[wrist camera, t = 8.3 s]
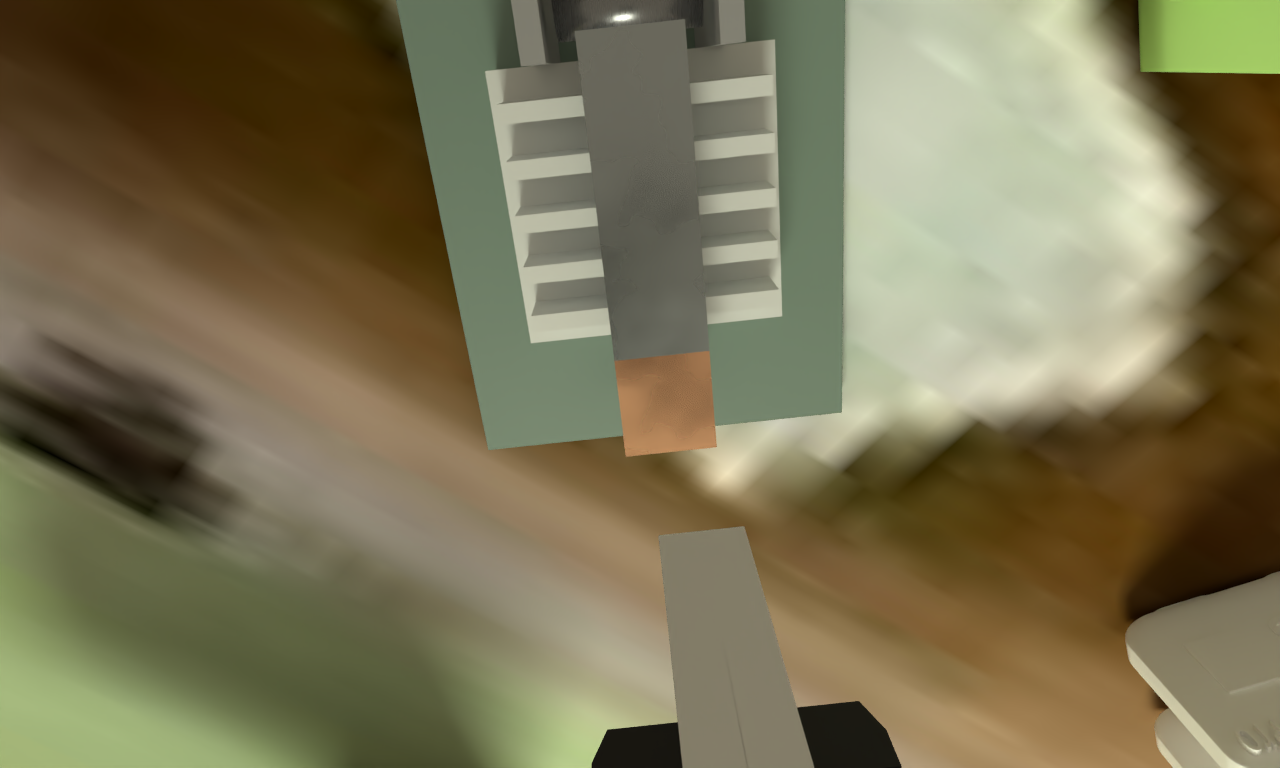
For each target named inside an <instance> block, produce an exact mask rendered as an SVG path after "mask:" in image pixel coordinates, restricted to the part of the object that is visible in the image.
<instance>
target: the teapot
mask: <svg viewBox="0 0 1280 768" xmlns="http://www.w3.org/2000/svg"><path fill="white" fill-rule="evenodd" d="M1138 10H1139V42H1140V71H1142V72H1206V73H1270V74H1280V0H1138Z"/></svg>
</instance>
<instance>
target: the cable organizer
mask: <svg viewBox="0 0 1280 768" xmlns="http://www.w3.org/2000/svg"><path fill="white" fill-rule="evenodd" d="M1125 640H1126V646H1127V652H1128V658H1129V661H1130V663H1131V664H1132V666H1133V667H1134V668H1135V669H1136V670H1137V671H1138V673H1139V674H1140V675H1141V676H1142V677H1143V678H1144V679H1145V681H1146V682H1147V683H1148V684H1149V685H1150V686H1151V688H1152V689H1153V690H1154V691H1155V692H1156V693H1157V694H1158V696H1159V697H1160V698H1161V699H1162V700H1163V701H1164V703H1165V704H1166V705H1167V706H1168V707H1169V708H1167V709H1166V710H1164V711H1163V712H1162V713H1161V714H1160V715H1159V716H1158V718H1157V719H1156V722H1155V726H1154V728H1155V735H1156V742H1157V746H1158V749H1159V750H1160V752H1161V753H1162V755H1163V756H1164V757H1165V758H1166V760H1167V761H1168V762H1169V763H1170V765H1171V766H1172V767H1173V768H1280V571H1278V572H1275V573H1272V574H1269V575H1267V576H1265V577H1264V578H1261V579H1258V580H1255V581H1252V582H1248V583H1245V584H1242V585H1239V586H1235V587H1232V588H1229V589H1226V590H1223V591H1219V592H1216V593H1213V594H1210V595H1203V596H1198V597H1195V598H1192V599H1189V600H1185V601H1182V602H1179V603H1176V604H1172V605H1169V606H1166V607H1163V608H1160V609H1158V610H1156V611H1155V612H1152V613H1149V614H1147V615H1144V616H1142V617H1140V618H1139V619H1137V620H1135V621H1134V622H1133V623H1132V624H1131V625H1130V626H1129V627H1128V629H1127V631H1126V635H1125Z"/></svg>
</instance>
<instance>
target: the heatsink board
mask: <svg viewBox="0 0 1280 768" xmlns="http://www.w3.org/2000/svg"><path fill="white" fill-rule="evenodd" d="M396 2H397V7H398V12H399V17H400V22H401V27H402V32H403V36H404V41H405V46H406V51H407V56H408V61H409V66H410V71H411V75H412V80H413V85H414V90H415V95H416V100H417V105H418V109H419V114H420V119H421V124H422V129H423V134H424V139H425V144H426V148H427V153H428V158H429V163H430V168H431V173H432V178H433V182H434V187H435V192H436V197H437V202H438V207H439V212H440V217H441V221H442V226H443V231H444V236H445V241H446V246H447V251H448V255H449V260H450V265H451V270H452V275H453V280H454V285H455V290H456V294H457V299H458V304H459V309H460V314H461V319H462V324H463V328H464V333H465V338H466V343H467V348H468V353H469V358H470V363H471V367H472V372H473V377H474V382H475V387H476V392H477V397H478V401H479V406H480V411H481V416H482V421H483V426H484V431H485V435H486V440H487V445H488V450H493V449H502V448H512V447H521V446H530V445H540V444H549V443H559V442H568V441H577V440H587V439H596V438H606V437H615V436H623V429H622V420H621V412H620V404H619V396H618V387H617V379H616V371H615V362H614V354H613V346H612V337H611V329H610V321H609V313H608V304H607V296H606V288H605V279H604V271H603V263H602V255H601V246H600V238H599V230H598V221H597V213H596V205H595V196H594V188H593V180H592V172H591V163H590V155H589V147H588V138H587V130H586V122H585V114H584V105H583V97H582V89H581V80H580V72H579V64H578V55H577V47H576V41H569V42H560V43H558V39H557V35H556V29H555V23H554V16H553V9H552V1H551V0H396ZM686 40H687V53H688V67H689V80H690V94H691V108H692V121H693V135H694V148H695V162H696V175H697V189H698V202H699V216H700V229H701V243H702V256H703V270H704V283H705V297H706V311H707V324H708V338H709V351H710V365H711V378H712V392H713V405H714V419H715V426H719V425H728V424H737V423H747V422H756V421H766V420H775V419H784V418H794V417H803V416H813V415H822V414H831V413H841V412H842V312H843V178H844V44H845V0H703V25H702V27H696V28H687V29H686Z"/></svg>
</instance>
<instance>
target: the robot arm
mask: <svg viewBox="0 0 1280 768" xmlns="http://www.w3.org/2000/svg"><path fill="white" fill-rule="evenodd" d="M659 545H660V555H661V564H662V574H663V584H664V593H665V603H666V612H667V622H668V632H669V641H670V651H671V661H672V670H673V680H674V689H675V699H676V709H677V718H678V722H677V723H667V724H658V725H648V726H639V727H629V728H620V729H610V730H607V732H606V734H605V736H604V738H603V740H602V742H601V745H600V747H599V749H598V751H597V753H596V755H595V757H594V760H593V762H592V768H901V764H900V762H899V759H898V757H897V754H896V752H895V750H894V747H893V745H892V742H891V740H890V738H889V735H888V733H887V730H886V729H885V728H884V727H883V726H882V725H881V724H880V723H879V722H878V721H877V720H876V719H875V718H874V717H873V715H872V714H871V713H870V712H869V711H868V710H867V709H866V708H865V707H864V706H863V705H862V704H861V703H860V702H859V701H855V702H846V703H836V704H827V705H817V706H808V707H798V708H797V706H796V703H795V700H794V696H793V693H792V689H791V686H790V682H789V679H788V676H787V672H786V669H785V665H784V662H783V658H782V655H781V651H780V648H779V645H778V641H777V638H776V634H775V631H774V627H773V624H772V621H771V617H770V614H769V610H768V607H767V603H766V600H765V597H764V593H763V590H762V586H761V583H760V579H759V576H758V573H757V569H756V566H755V562H754V559H753V555H752V552H751V548H750V545H749V542H748V538H747V535H746V531H745V528H744V527H734V528H725V529H715V530H706V531H697V532H687V533H678V534H669V535H659Z"/></svg>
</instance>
